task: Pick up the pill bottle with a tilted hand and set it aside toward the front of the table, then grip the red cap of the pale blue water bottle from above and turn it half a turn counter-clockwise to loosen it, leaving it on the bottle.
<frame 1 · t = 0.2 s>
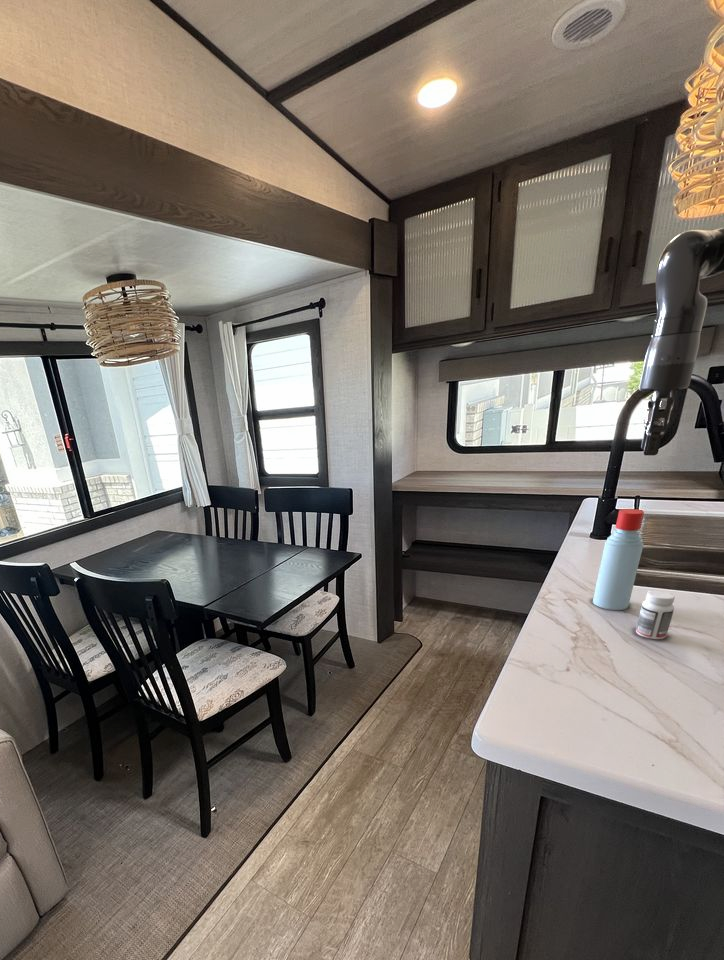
hand: (648, 452, 94), 31 cm above the counter, tool pointing down, fingers open, 8 cm apart
water bottle: (610, 603, 102), on the counter
cap: (631, 512, 94), point 20 cm above the counter, screwed on, not yet turned
pill bottle: (650, 634, 90), on the counter
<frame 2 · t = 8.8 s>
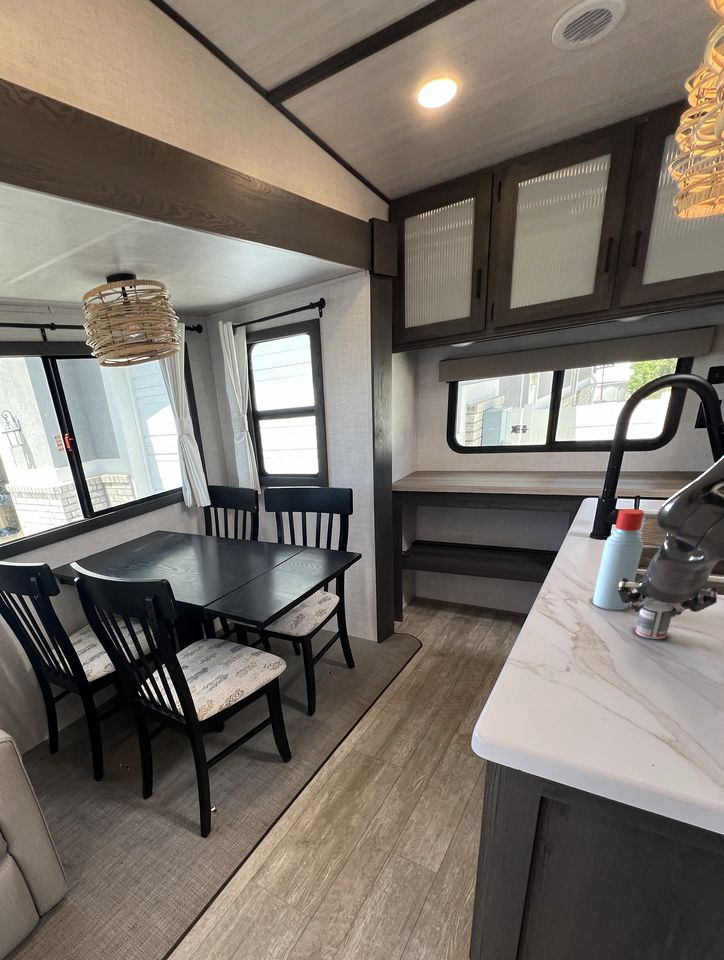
hand: (654, 609, 90), 4 cm above the counter, tool tilted 45°, fingers closed on pill bottle, 4 cm apart
pill bottle: (650, 634, 90), on the counter, touching gripper
everything else where it was.
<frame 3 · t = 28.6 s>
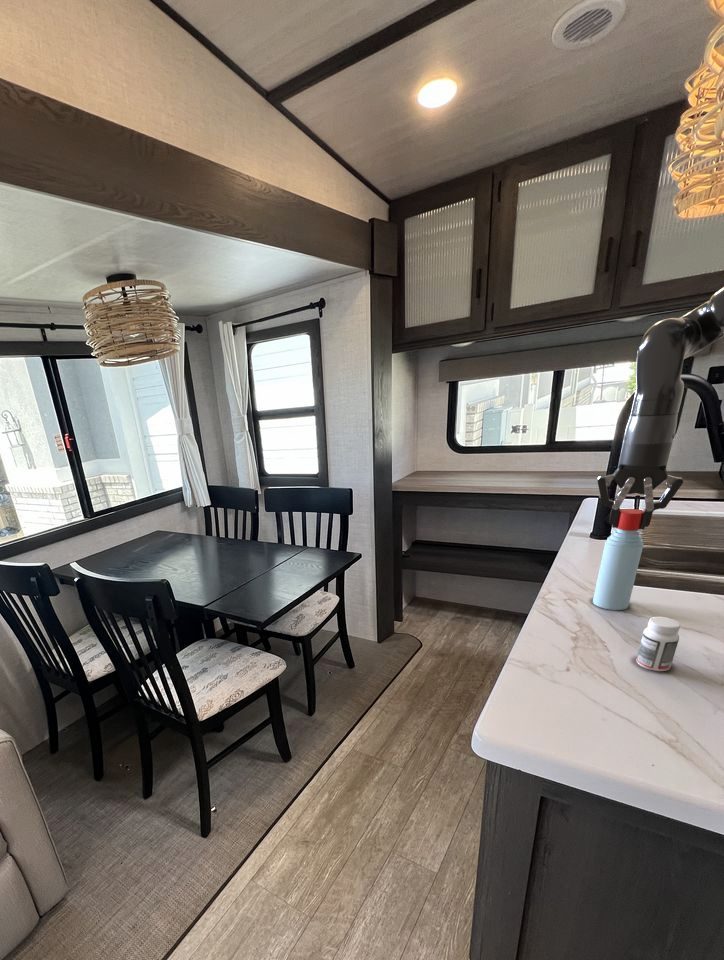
hand: (627, 527, 95), 17 cm above the counter, tool pointing down, fingers closed on cap, 4 cm apart
cap: (631, 512, 94), point 20 cm above the counter, screwed on, not yet turned, touching gripper
pill bottle: (652, 665, 81), on the counter
everything else where it was.
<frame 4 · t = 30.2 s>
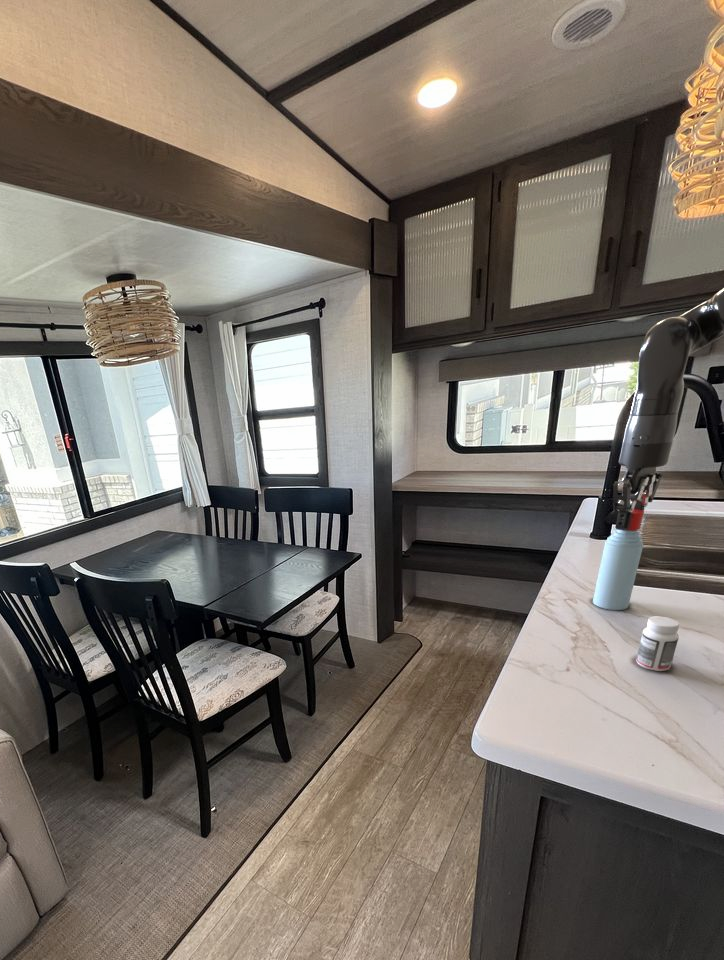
hand: (627, 526, 95), 17 cm above the counter, tool pointing down, fingers closed on cap, 4 cm apart
cap: (631, 512, 94), point 20 cm above the counter, turned 64° so far, risen 0.1 cm, still on its thread, touching gripper
everything else where it was.
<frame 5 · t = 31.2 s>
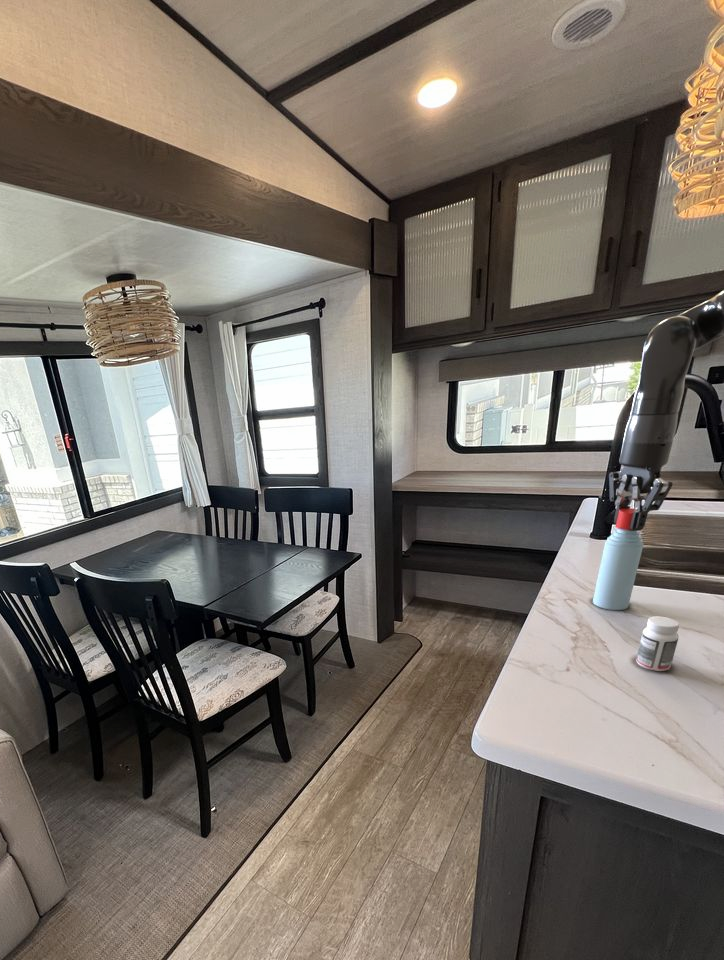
hand: (627, 526, 95), 17 cm above the counter, tool pointing down, fingers closed on cap, 4 cm apart
cap: (631, 512, 94), point 20 cm above the counter, turned 125° so far, risen 0.1 cm, still on its thread, touching gripper
everything else where it was.
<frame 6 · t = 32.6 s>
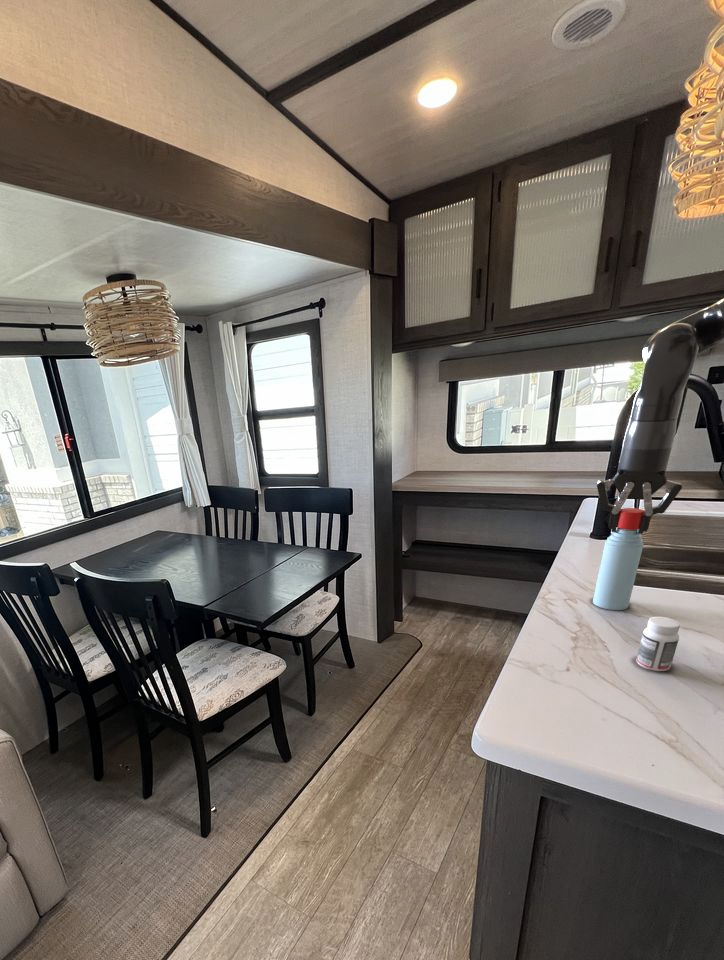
hand: (626, 531, 96), 16 cm above the counter, tool pointing down, fingers closed on cap, 4 cm apart
water bottle: (610, 603, 102), on the counter, touching gripper
cap: (631, 511, 94), point 20 cm above the counter, turned 179° so far, risen 0.2 cm, still on its thread, touching gripper
everything else where it was.
when the fingers open (17 cm above the counter, at t = 36.0 s): cap stays where it is, point 20 cm above the counter.
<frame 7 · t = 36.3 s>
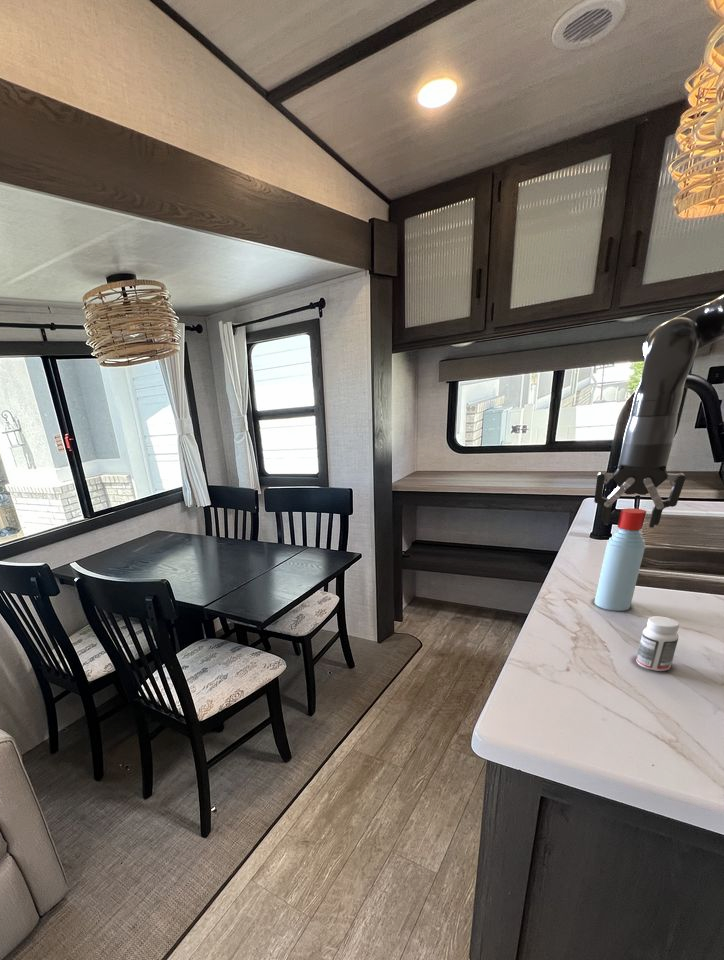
hand: (628, 525, 95), 18 cm above the counter, tool pointing down, fingers open, 7 cm apart
water bottle: (611, 604, 102), on the counter
cap: (633, 512, 93), point 20 cm above the counter, turned 179° so far, risen 0.2 cm, still on its thread
everything else where it was.
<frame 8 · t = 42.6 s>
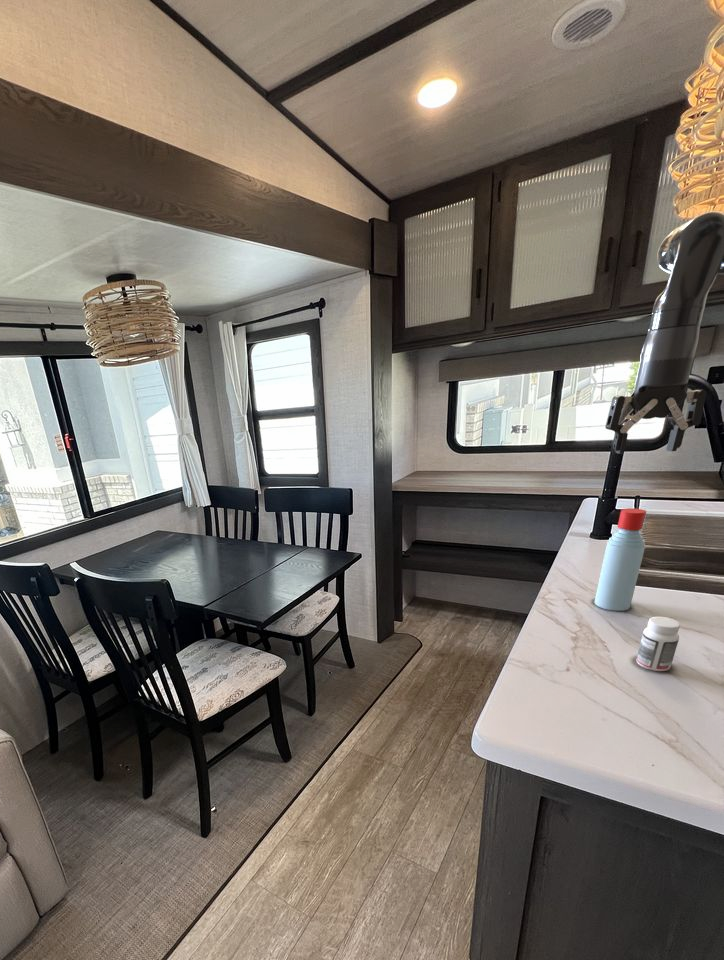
hand: (645, 452, 89), 32 cm above the counter, tool pointing down, fingers open, 8 cm apart
nothing on the counter moved.
at the end: pill bottle inside the target area (0.6 cm from its centre), on the counter; cap turned 0.50 turns (still on its thread); cap is still on its thread (0.50 turns) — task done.
